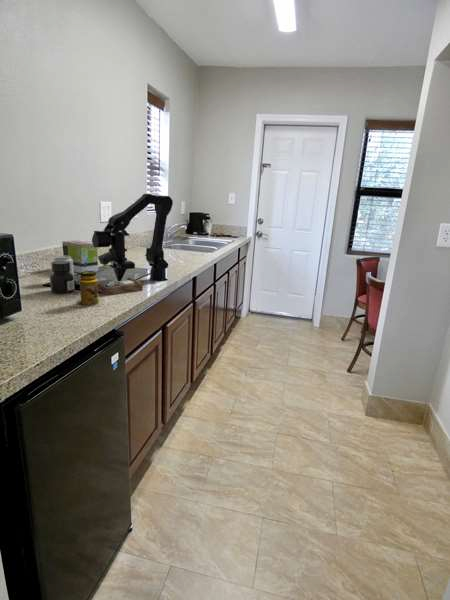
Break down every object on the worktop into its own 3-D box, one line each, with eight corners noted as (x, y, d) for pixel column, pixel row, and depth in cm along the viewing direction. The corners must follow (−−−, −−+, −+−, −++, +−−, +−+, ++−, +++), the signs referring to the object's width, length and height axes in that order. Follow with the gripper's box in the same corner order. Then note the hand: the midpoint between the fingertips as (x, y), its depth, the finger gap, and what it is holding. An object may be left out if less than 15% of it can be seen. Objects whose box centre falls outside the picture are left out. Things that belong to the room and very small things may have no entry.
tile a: (129, 286, 156) (129, 280, 155) (135, 288, 153) (135, 282, 152) (119, 288, 153) (118, 281, 152) (125, 290, 149) (124, 283, 149)
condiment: (98, 306, 127) (96, 274, 123) (73, 307, 125) (71, 274, 121) (100, 300, 133) (99, 270, 130) (76, 301, 131) (74, 269, 128)
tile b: (102, 283, 158) (102, 277, 157) (108, 286, 155) (108, 279, 154) (92, 285, 154) (92, 278, 154) (98, 287, 151) (98, 281, 151)
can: (67, 285, 151) (65, 258, 147) (52, 284, 152) (49, 256, 149) (77, 282, 158) (76, 255, 155) (63, 280, 159) (60, 254, 156)
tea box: (99, 271, 181) (97, 242, 176) (82, 274, 173) (80, 244, 168) (80, 267, 188) (78, 239, 184) (63, 269, 180) (61, 240, 176)
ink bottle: (75, 293, 140) (73, 264, 137) (51, 295, 137) (48, 265, 133) (74, 287, 149) (72, 259, 145) (50, 289, 145) (48, 260, 141)
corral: (129, 284, 159) (129, 277, 158) (142, 290, 150) (142, 283, 150) (94, 288, 149) (94, 281, 148) (106, 295, 140) (106, 288, 139)
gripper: (90, 244, 153) (92, 279, 157) (109, 250, 140) (111, 288, 144) (115, 243, 160) (116, 276, 165) (135, 248, 147) (135, 284, 151)
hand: (119, 281), depth 156 cm, fingers closed
